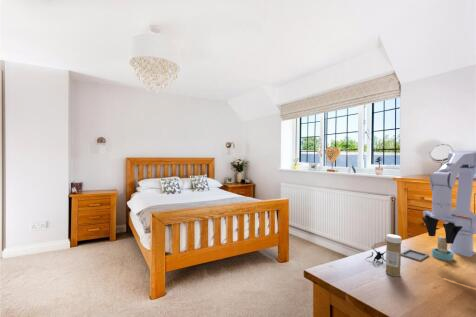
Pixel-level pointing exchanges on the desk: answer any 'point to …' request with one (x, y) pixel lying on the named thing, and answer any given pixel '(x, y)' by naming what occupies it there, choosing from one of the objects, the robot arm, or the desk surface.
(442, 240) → the pin
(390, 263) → the sprinkles bottle
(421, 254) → the tray
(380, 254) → the creature
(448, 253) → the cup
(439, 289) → the desk surface
